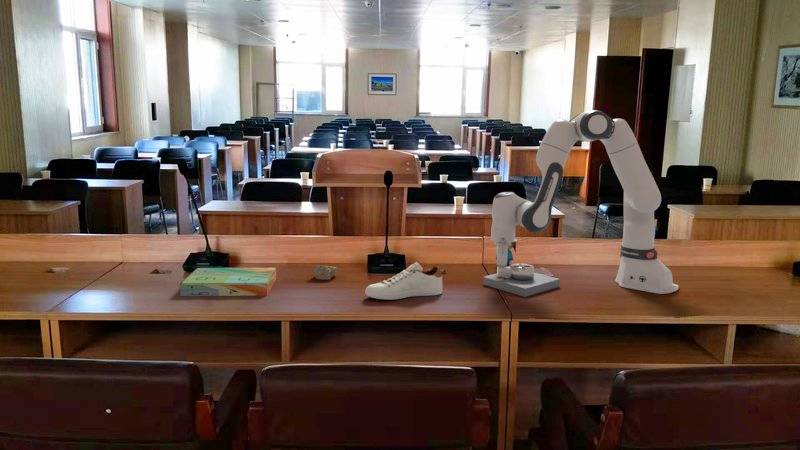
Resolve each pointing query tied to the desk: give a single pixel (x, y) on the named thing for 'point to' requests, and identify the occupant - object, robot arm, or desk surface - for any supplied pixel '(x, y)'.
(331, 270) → the rock
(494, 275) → the panel
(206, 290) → the box
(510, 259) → the toy
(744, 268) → the desk surface
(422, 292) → the Shoe
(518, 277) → the dial
